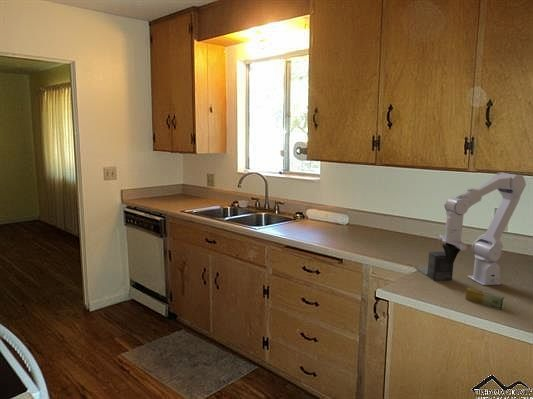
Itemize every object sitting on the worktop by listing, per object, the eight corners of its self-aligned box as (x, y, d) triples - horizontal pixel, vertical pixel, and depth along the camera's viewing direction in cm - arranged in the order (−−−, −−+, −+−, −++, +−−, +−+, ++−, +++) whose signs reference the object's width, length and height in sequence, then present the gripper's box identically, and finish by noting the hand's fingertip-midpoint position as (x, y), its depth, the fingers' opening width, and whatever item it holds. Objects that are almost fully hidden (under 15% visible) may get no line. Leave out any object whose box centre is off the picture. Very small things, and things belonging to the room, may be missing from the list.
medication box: (504, 308, 143) (505, 297, 142) (501, 310, 141) (503, 299, 140) (467, 297, 151) (468, 287, 151) (464, 299, 149) (465, 289, 149)
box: (444, 275, 173) (446, 251, 171) (452, 280, 167) (454, 255, 166) (426, 276, 172) (429, 251, 170) (433, 281, 166) (436, 255, 165)
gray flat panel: (443, 274, 174) (443, 273, 174) (425, 275, 172) (425, 274, 172) (431, 267, 183) (431, 266, 182) (414, 268, 181) (414, 266, 181)
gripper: (433, 224, 167) (430, 257, 169) (455, 234, 153) (451, 269, 155) (449, 224, 168) (446, 256, 170) (473, 233, 154) (469, 268, 156)
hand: (450, 262), depth 163 cm, fingers closed
